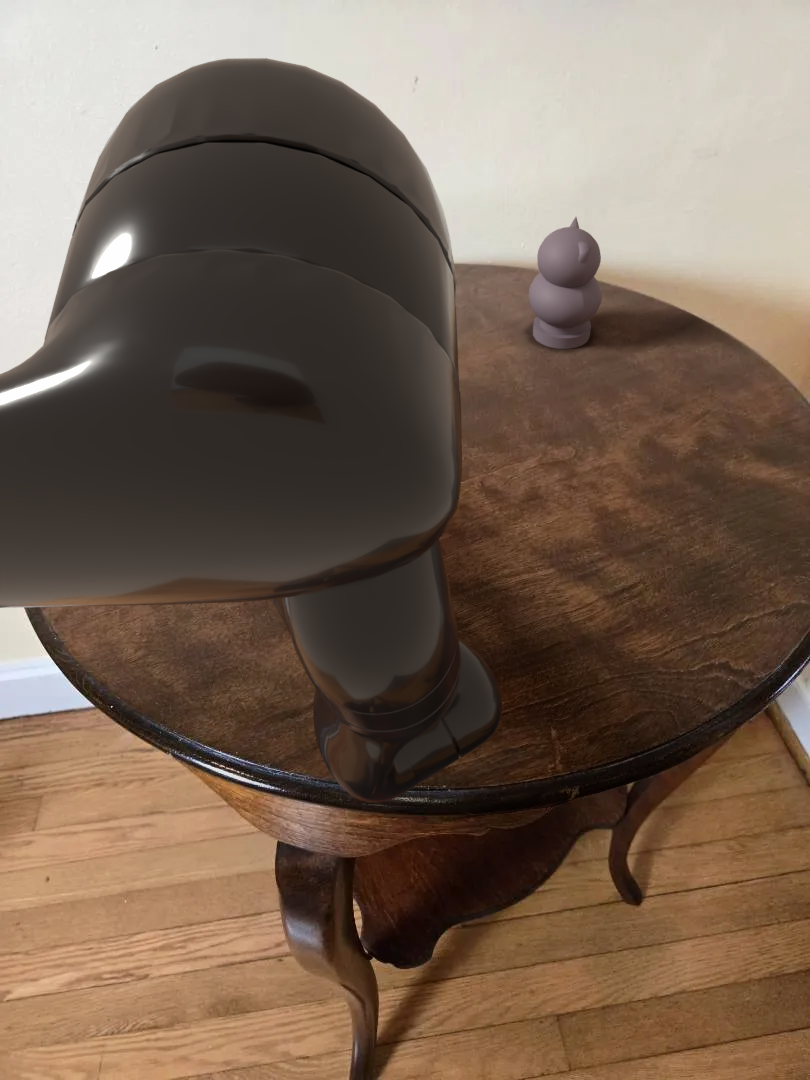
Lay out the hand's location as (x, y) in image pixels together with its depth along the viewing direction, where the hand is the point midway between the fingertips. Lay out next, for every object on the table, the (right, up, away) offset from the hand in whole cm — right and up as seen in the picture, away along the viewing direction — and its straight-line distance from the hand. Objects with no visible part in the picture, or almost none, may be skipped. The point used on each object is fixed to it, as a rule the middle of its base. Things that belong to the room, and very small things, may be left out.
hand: (219, 417), depth 69 cm
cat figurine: (+33, +13, +26) cm, 44 cm away
